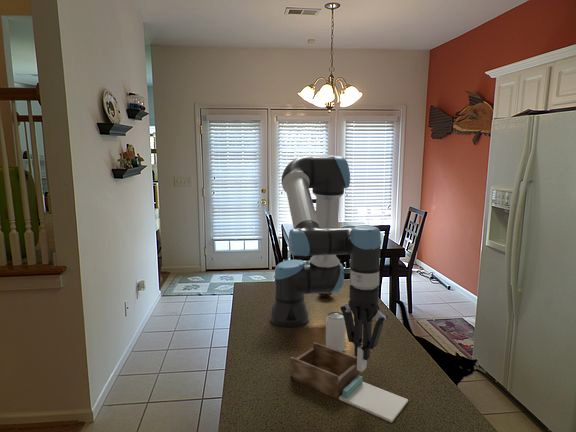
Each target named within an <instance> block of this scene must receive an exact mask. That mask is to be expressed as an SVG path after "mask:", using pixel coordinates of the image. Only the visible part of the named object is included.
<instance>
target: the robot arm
mask: <svg viewBox="0 0 576 432" xmlns="http://www.w3.org/2000/svg"><path fill="white" fill-rule="evenodd" d="M347 161H348V160H347V159H346V158H345V157H344V156H341V155H303V156H298V157H297V158H294V159H293V160H292V161H290V162H289V163H288V164H287V166H285V169H283V172H282V174H281V186H282V190H283V191H284V192H285V193H286V197H287V202H288V208H289V212H290V217H291V221H292V227H293V229H290V230H289V232H288V247H289V248H288V249H289V253H290V254H291V255H292V256H297V257H310V258H309V263H305V261H304V260H303V259H286V260H284V261H281V262H279V263H277V265H275V268H274V276H273V279H274V301H273V305H272V308H271V312H270V321H271V323H272V324H274V325H276V326H279V327H284V328H296V327H301V326H303V325H306V324H307V323H308V322H309V311H308V309H307V306H306V302H305V295H311V294H312V295H314V294H318V293H328V294H329V293H332V294H333V293H338V292H340V291H341V290H342V287H343V284H344V280H345V274H344V273H345V269H344V265H343V264H342V263H341V262H340V261H341V260H340V259H339V258H338V257H337V255H338V256H339V255H340V256H341V255H343V256H344V255H349V256H350V259H349V260H350V263H349V264H350V265H349V268H350V269H349V283H350V285H349V300H348V303H345V304H343V305H342V306H340V310H341V311H340V312H341V313H342V314H343V315H344V320H345V332H346V335H347V340H348V341H347V342H349V343H352V344H353V345H354V357H357V370H358V371H359V373H363V372H364V371H365V370H366V369H367V365H368V360H369V359H370V357H371V350H373V349H374V348H376V347H377V346H378V343H379V340H380V337H381V333H382V330H383V327H384V323H385V322H386V321H387V320H388V318H389V316H388V315H387V314H384V313H382V312H381V311H380V306H379V295H380V294H379V293H380V292H379V291H380V288H379V285H380V265H381V245H382V240H381V239H382V238H381V230H380V229H379V228H378V227H377V226H372V225H366V224H365V225H350V224H347V225H345V226H343V227H339V213H340V211H339V210H340V198H341V197H342V196H343V195H344V194H345V189H347V188H349V187H350V185H351V173H350V167H349V163H348V162H347ZM310 189H312V190H311V191H312V194H313V195H314V196H315V206H314V202H313V198H312V195H311V192H310ZM318 295H319V294H318ZM374 318H375V321H376V322H375V324H374V327H373V330H372V324H373V319H374Z"/></svg>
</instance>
